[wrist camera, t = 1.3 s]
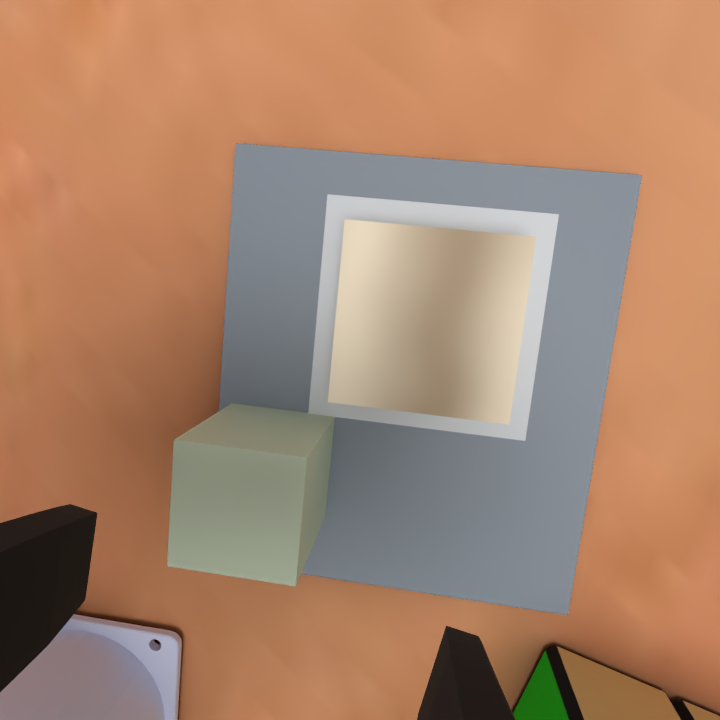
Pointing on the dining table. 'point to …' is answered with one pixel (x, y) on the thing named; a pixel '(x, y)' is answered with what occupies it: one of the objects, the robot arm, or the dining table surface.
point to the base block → (430, 319)
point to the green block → (250, 493)
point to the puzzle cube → (595, 694)
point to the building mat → (422, 431)
